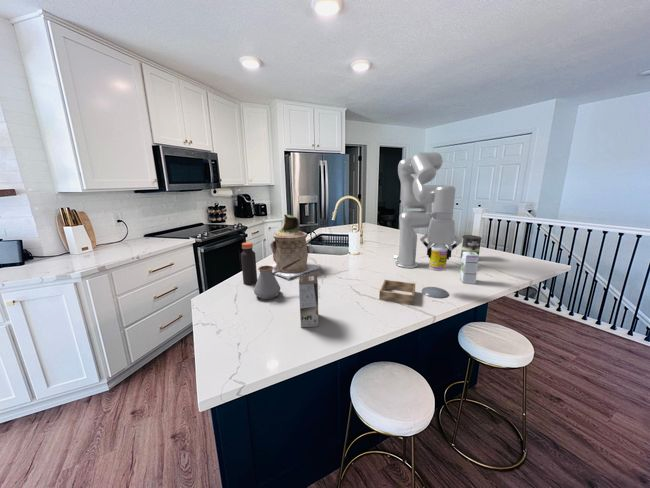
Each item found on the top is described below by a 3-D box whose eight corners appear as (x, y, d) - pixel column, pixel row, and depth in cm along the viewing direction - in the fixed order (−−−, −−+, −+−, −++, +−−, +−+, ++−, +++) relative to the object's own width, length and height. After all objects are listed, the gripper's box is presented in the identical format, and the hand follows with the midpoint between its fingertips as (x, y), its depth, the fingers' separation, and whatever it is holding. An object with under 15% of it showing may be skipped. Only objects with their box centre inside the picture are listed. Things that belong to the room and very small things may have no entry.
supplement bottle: (438, 272, 107) (441, 242, 104) (425, 268, 113) (428, 239, 110) (449, 270, 110) (452, 240, 107) (436, 265, 116) (438, 238, 113)
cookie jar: (321, 268, 147) (320, 212, 139) (287, 281, 129) (284, 218, 122) (293, 260, 163) (291, 209, 155) (260, 270, 146) (255, 213, 138)
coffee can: (481, 261, 157) (484, 238, 153) (463, 260, 158) (466, 238, 155) (474, 256, 166) (477, 235, 163) (457, 255, 168) (460, 234, 165)
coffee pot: (255, 303, 107) (252, 268, 103) (253, 292, 117) (250, 260, 113) (305, 295, 113) (304, 262, 110) (299, 285, 124) (297, 255, 120)
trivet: (416, 292, 115) (416, 291, 115) (429, 285, 122) (429, 284, 122) (440, 300, 107) (440, 299, 107) (452, 293, 114) (453, 292, 114)
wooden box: (379, 299, 108) (379, 290, 107) (384, 287, 120) (385, 279, 119) (412, 305, 103) (413, 295, 102) (414, 291, 115) (415, 283, 114)
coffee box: (319, 326, 89) (318, 283, 85) (300, 327, 89) (298, 284, 85) (317, 313, 98) (316, 273, 94) (300, 314, 97) (299, 274, 93)
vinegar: (240, 282, 128) (237, 243, 123) (252, 278, 133) (249, 241, 128) (248, 286, 124) (244, 245, 119) (260, 282, 129) (257, 243, 124)
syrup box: (475, 284, 123) (479, 255, 120) (462, 283, 124) (466, 254, 121) (471, 279, 129) (475, 251, 125) (458, 279, 130) (462, 251, 126)
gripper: (419, 216, 106) (416, 258, 110) (467, 218, 100) (461, 262, 104) (420, 214, 113) (417, 253, 117) (465, 216, 106) (460, 257, 111)
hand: (438, 257), depth 110 cm, fingers closed on supplement bottle, 6 cm apart
